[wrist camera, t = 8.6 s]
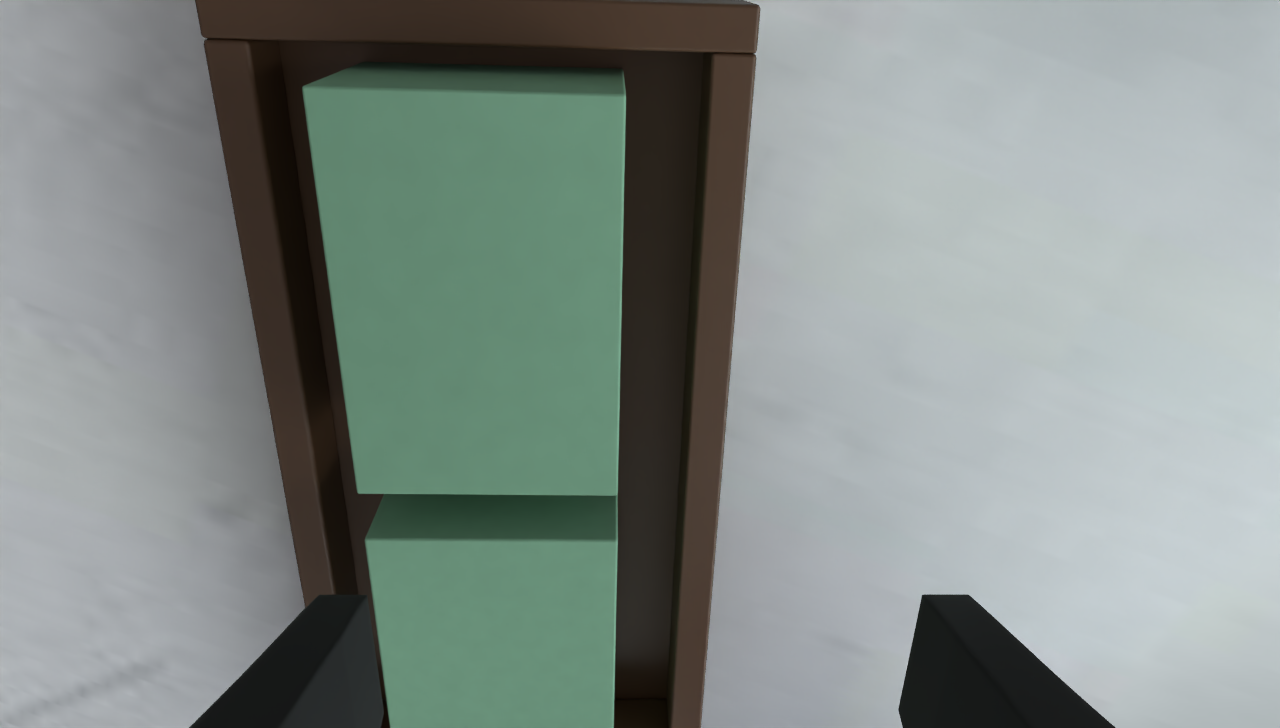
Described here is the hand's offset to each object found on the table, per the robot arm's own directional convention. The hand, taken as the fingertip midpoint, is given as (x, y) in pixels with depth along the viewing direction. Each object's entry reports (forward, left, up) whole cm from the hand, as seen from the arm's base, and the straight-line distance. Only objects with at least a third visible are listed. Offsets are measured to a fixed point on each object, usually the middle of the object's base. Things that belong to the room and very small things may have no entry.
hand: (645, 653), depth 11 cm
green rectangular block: (+3, +3, -9) cm, 10 cm away
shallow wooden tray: (-2, +3, -9) cm, 10 cm away
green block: (-6, +3, -9) cm, 11 cm away
